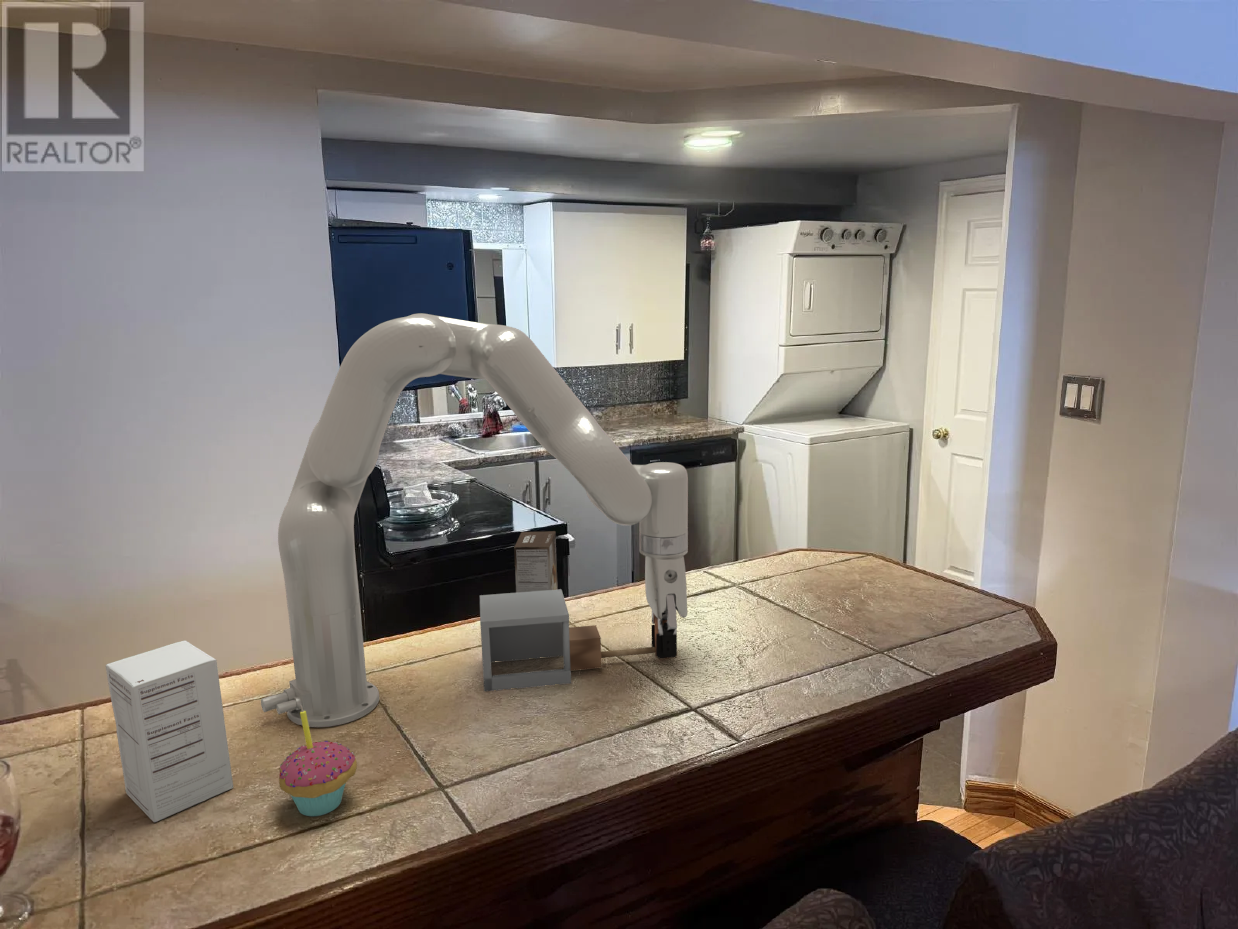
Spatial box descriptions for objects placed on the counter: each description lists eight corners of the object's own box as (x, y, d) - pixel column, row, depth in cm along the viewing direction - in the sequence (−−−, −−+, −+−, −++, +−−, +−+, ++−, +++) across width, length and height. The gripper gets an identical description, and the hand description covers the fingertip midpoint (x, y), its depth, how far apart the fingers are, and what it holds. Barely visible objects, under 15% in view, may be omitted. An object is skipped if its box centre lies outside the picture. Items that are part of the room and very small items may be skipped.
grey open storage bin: (484, 691, 123) (480, 622, 121) (483, 659, 134) (479, 595, 132) (571, 683, 126) (568, 614, 123) (563, 652, 136) (561, 589, 134)
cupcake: (266, 810, 96) (255, 715, 93) (328, 775, 103) (319, 685, 100) (313, 836, 91) (302, 737, 89) (375, 797, 98) (366, 704, 96)
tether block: (569, 670, 128) (568, 634, 127) (565, 657, 133) (564, 622, 132) (676, 660, 131) (675, 625, 130) (668, 647, 136) (668, 613, 135)
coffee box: (524, 615, 152) (520, 530, 149) (559, 614, 152) (556, 530, 149) (517, 635, 143) (513, 546, 140) (554, 635, 143) (551, 546, 140)
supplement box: (235, 788, 100) (219, 659, 97) (153, 825, 94) (133, 687, 90) (202, 760, 107) (186, 637, 103) (123, 792, 100) (103, 662, 96)
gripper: (700, 556, 122) (700, 672, 126) (674, 526, 138) (675, 630, 142) (650, 560, 121) (651, 677, 125) (630, 529, 137) (631, 634, 140)
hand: (664, 651), depth 133 cm, fingers closed on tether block, 2 cm apart
